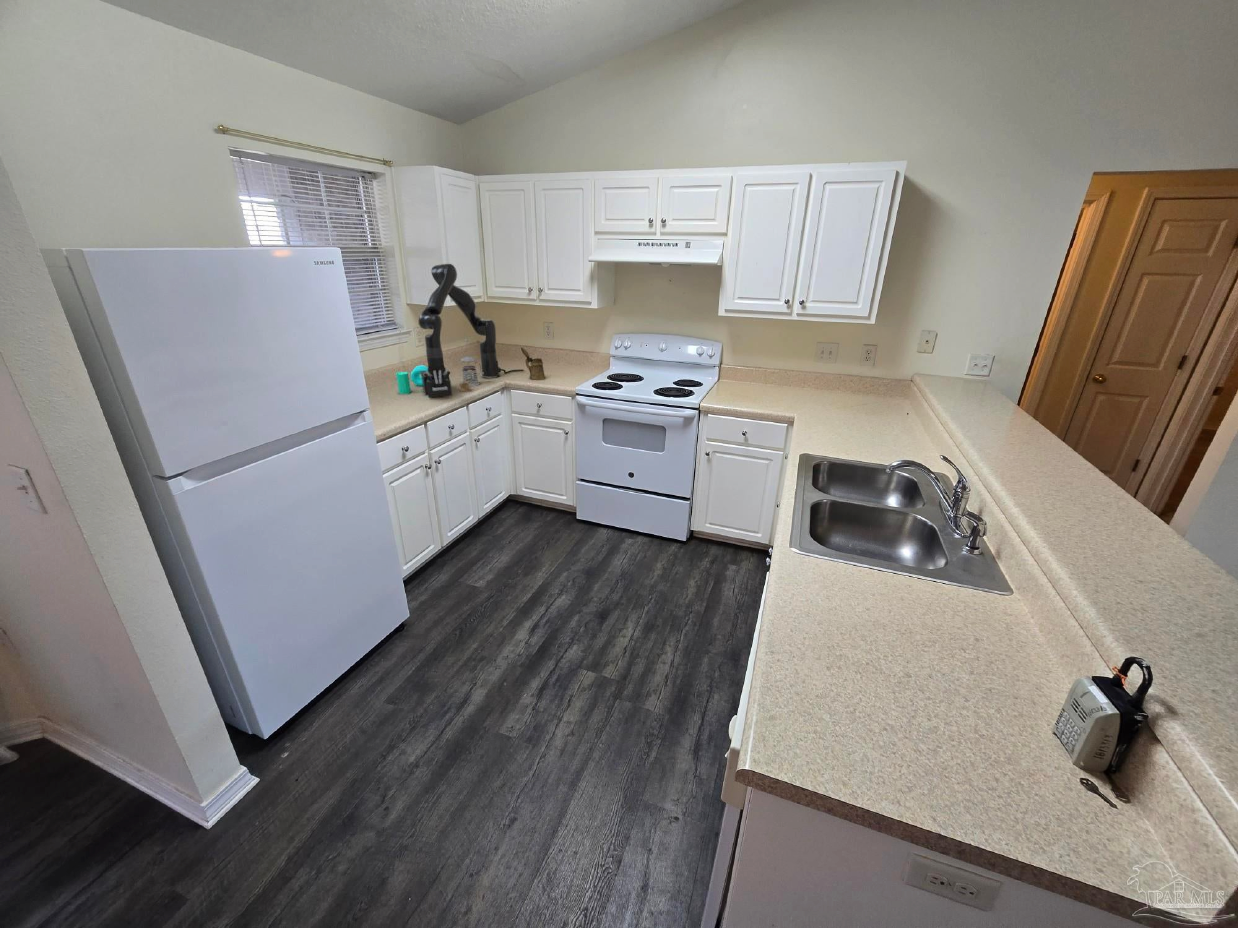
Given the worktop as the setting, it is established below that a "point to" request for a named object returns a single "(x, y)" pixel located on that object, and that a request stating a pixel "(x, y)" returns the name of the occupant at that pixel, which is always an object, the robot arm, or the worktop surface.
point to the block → (464, 386)
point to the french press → (473, 379)
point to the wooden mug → (534, 366)
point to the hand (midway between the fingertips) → (439, 390)
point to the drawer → (434, 391)
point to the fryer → (425, 380)
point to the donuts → (416, 377)
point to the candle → (403, 382)
